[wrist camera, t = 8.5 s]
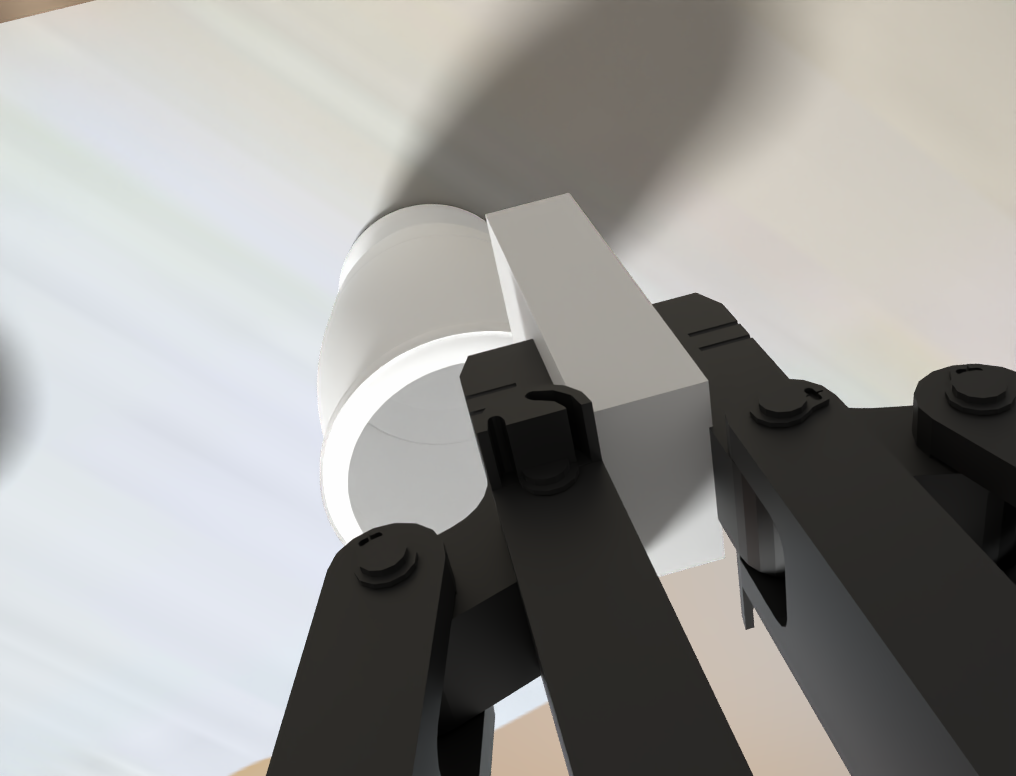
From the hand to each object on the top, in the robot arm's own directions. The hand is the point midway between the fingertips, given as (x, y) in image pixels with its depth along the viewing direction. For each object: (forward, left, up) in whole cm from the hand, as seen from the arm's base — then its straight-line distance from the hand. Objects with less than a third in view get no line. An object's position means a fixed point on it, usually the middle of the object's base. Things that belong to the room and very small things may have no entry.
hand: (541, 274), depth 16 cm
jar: (+2, +11, -25) cm, 27 cm away
